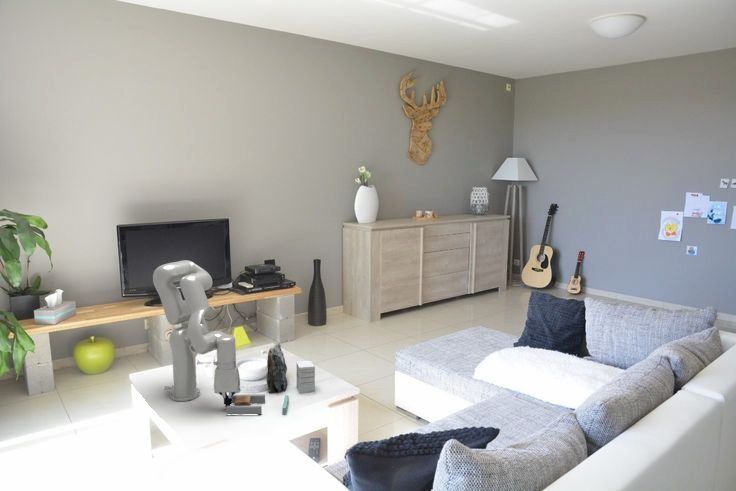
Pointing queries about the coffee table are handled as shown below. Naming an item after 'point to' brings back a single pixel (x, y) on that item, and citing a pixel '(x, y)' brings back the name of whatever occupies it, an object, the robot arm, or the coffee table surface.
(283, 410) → the bar
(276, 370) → the stone block
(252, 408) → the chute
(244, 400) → the walnut block
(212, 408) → the coffee table surface
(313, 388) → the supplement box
